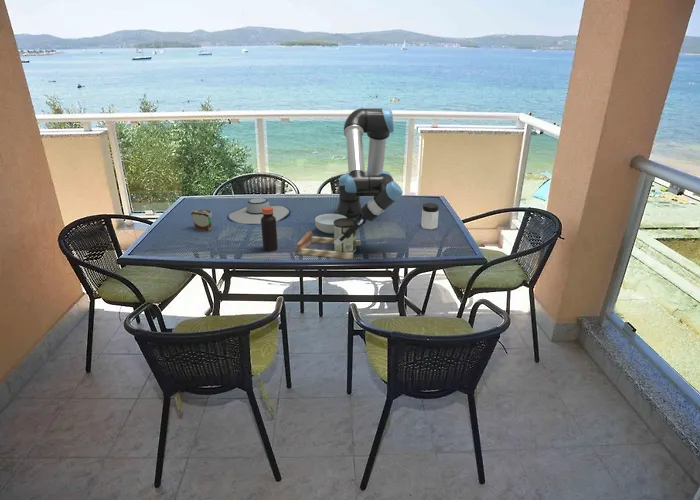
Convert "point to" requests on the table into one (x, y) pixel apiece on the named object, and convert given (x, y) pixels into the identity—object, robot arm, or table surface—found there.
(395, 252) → the table surface
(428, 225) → the jar
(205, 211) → the food container
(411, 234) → the table surface
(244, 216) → the sun hat
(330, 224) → the cereal bowl
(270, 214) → the bottle
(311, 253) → the guide
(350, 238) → the coffee can
